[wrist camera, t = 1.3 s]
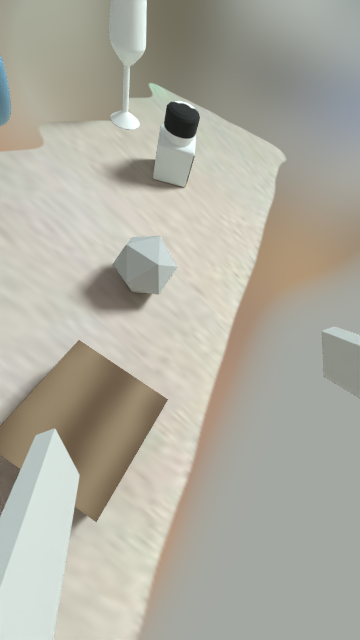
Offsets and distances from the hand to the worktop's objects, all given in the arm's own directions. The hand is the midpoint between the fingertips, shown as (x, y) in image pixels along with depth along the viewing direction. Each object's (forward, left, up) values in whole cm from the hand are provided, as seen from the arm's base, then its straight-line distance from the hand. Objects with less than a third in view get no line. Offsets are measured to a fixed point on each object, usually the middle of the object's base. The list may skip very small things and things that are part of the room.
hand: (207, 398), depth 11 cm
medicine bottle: (-22, +44, -22) cm, 54 cm away
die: (-12, +17, -22) cm, 30 cm away
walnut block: (-6, -4, -22) cm, 23 cm away
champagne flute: (-39, +52, -22) cm, 69 cm away
